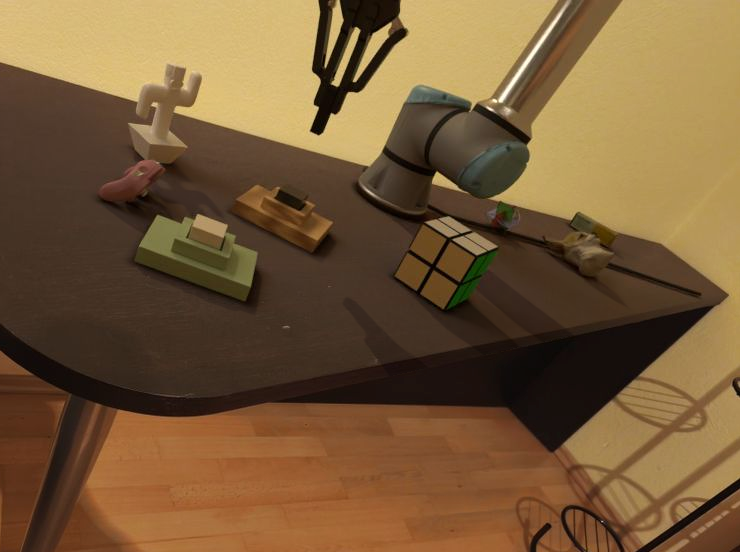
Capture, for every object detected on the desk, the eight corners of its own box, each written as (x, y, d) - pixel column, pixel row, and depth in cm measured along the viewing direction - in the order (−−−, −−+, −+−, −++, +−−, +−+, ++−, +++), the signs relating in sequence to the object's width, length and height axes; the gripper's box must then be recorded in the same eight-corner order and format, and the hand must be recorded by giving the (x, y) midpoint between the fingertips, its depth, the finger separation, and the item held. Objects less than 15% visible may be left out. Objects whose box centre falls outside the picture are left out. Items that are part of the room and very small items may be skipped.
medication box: (567, 225, 175) (575, 212, 172) (571, 223, 176) (579, 210, 174) (607, 247, 169) (616, 234, 167) (610, 246, 171) (619, 233, 169)
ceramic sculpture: (603, 243, 132) (554, 212, 143) (580, 279, 136) (533, 246, 147) (633, 250, 138) (583, 220, 148) (609, 285, 142) (562, 252, 152)
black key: (304, 205, 101) (309, 194, 100) (297, 212, 98) (302, 200, 97) (281, 194, 101) (286, 183, 100) (274, 200, 98) (278, 188, 97)
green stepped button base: (252, 266, 86) (263, 240, 84) (244, 302, 78) (256, 274, 75) (153, 229, 84) (161, 202, 82) (134, 261, 76) (142, 232, 74)
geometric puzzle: (500, 230, 137) (527, 204, 137) (476, 213, 140) (502, 188, 140) (502, 246, 143) (527, 222, 143) (479, 230, 147) (504, 206, 146)
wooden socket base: (327, 234, 105) (337, 212, 103) (312, 253, 97) (322, 230, 95) (252, 196, 106) (261, 174, 104) (231, 212, 98) (239, 188, 96)
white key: (223, 239, 81) (228, 225, 80) (218, 252, 78) (223, 237, 76) (193, 227, 80) (197, 213, 79) (187, 240, 77) (192, 225, 76)
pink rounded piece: (118, 220, 86) (152, 187, 83) (94, 194, 85) (126, 160, 81) (145, 198, 94) (176, 168, 91) (122, 174, 93) (153, 142, 90)
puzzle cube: (418, 266, 108) (447, 214, 103) (467, 299, 105) (500, 247, 99) (391, 276, 101) (422, 221, 95) (443, 312, 97) (478, 256, 92)
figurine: (116, 143, 103) (138, 48, 95) (165, 148, 109) (190, 60, 101) (137, 165, 99) (162, 68, 91) (187, 168, 105) (215, 78, 97)
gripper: (335, -74, 77) (268, 116, 89) (433, -29, 76) (351, 156, 88) (348, -67, 83) (283, 109, 96) (439, -26, 82) (361, 146, 95)
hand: (316, 131), depth 92 cm, fingers closed
